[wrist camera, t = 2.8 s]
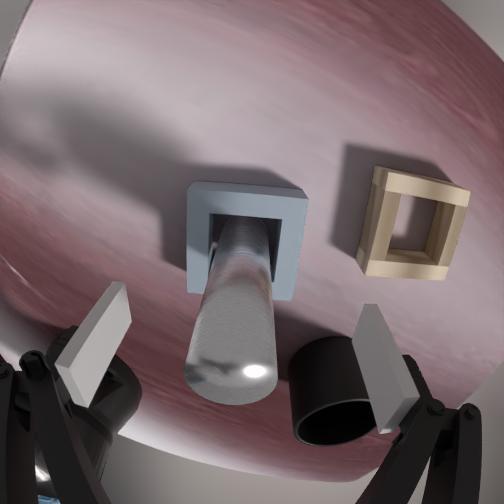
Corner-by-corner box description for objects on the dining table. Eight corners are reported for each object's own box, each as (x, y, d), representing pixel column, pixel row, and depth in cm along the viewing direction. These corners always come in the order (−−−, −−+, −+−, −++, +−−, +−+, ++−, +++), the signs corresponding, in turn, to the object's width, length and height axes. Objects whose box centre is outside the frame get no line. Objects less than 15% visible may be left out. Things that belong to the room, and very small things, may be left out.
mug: (345, 399, 36) (357, 453, 28) (272, 375, 34) (274, 438, 26) (392, 356, 33) (416, 411, 25) (320, 323, 31) (336, 389, 22)
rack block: (355, 259, 27) (364, 275, 25) (374, 165, 23) (388, 171, 21) (430, 266, 27) (444, 280, 25) (453, 183, 24) (470, 191, 21)
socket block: (193, 275, 28) (187, 292, 26) (194, 180, 24) (186, 189, 22) (288, 283, 28) (291, 301, 26) (302, 189, 25) (308, 199, 22)
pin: (220, 253, 27) (186, 399, 13) (222, 211, 26) (180, 339, 11) (265, 257, 27) (271, 407, 13) (269, 215, 26) (284, 348, 11)
